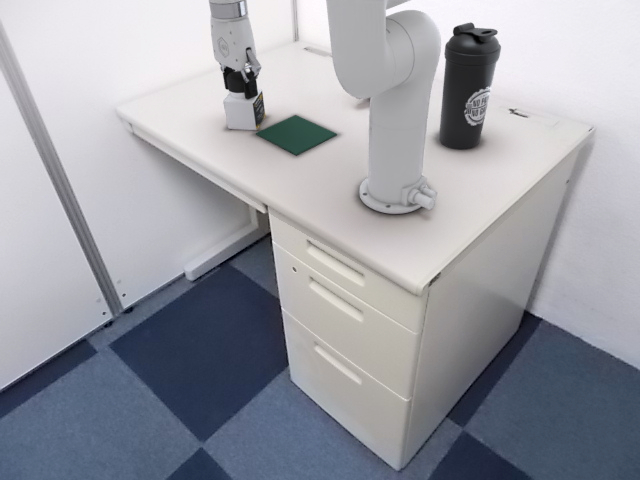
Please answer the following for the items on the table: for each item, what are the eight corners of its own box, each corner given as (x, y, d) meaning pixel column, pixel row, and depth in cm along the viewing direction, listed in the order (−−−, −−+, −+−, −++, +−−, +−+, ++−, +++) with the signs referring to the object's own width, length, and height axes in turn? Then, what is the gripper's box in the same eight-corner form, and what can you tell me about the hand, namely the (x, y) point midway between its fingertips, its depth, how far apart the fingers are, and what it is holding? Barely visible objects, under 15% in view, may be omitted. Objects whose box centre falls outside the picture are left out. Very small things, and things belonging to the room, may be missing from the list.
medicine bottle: (257, 131, 113) (250, 80, 105) (227, 129, 114) (218, 79, 106) (265, 116, 118) (259, 67, 110) (237, 115, 119) (229, 66, 112)
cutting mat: (336, 135, 110) (336, 133, 109) (296, 155, 104) (296, 154, 103) (295, 116, 118) (295, 114, 117) (255, 134, 112) (255, 132, 111)
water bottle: (458, 156, 100) (476, 41, 85) (424, 137, 107) (435, 27, 92) (494, 142, 104) (516, 28, 89) (459, 124, 111) (475, 16, 96)
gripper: (190, 5, 103) (206, 87, 115) (239, 21, 93) (251, 109, 105) (220, -3, 107) (232, 77, 118) (270, 12, 97) (278, 98, 108)
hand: (241, 91), depth 111 cm, fingers closed on medicine bottle, 6 cm apart
